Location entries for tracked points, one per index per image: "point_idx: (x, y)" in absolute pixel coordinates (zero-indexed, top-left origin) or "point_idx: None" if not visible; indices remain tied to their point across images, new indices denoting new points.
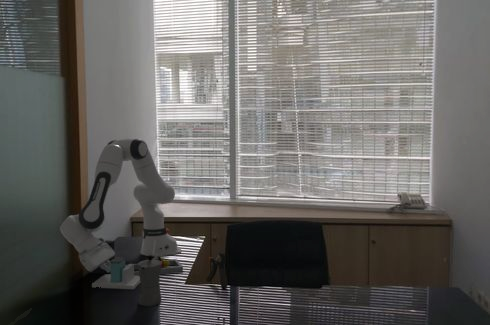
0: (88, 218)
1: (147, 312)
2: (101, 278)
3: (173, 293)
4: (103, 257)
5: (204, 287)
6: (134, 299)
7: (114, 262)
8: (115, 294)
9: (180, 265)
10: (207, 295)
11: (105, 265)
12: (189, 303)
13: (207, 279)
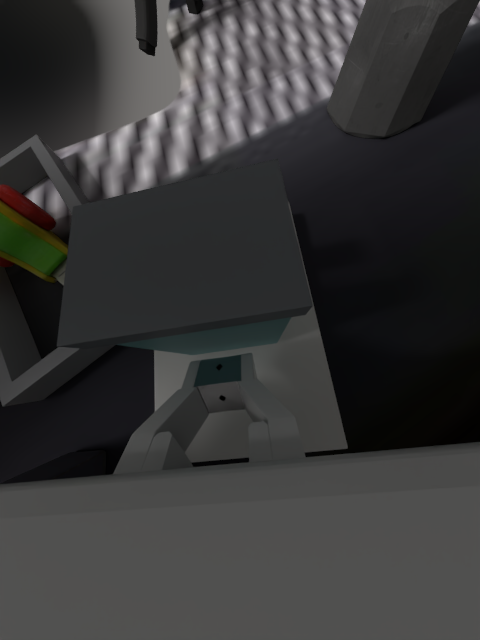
0: None
1: (466, 64)
2: (236, 441)
3: (273, 85)
4: (196, 590)
5: (198, 46)
6: (384, 157)
7: (292, 239)
8: (372, 253)
9: (24, 147)
10: (257, 15)
11: (280, 405)
12: (333, 19)
13: (153, 37)
